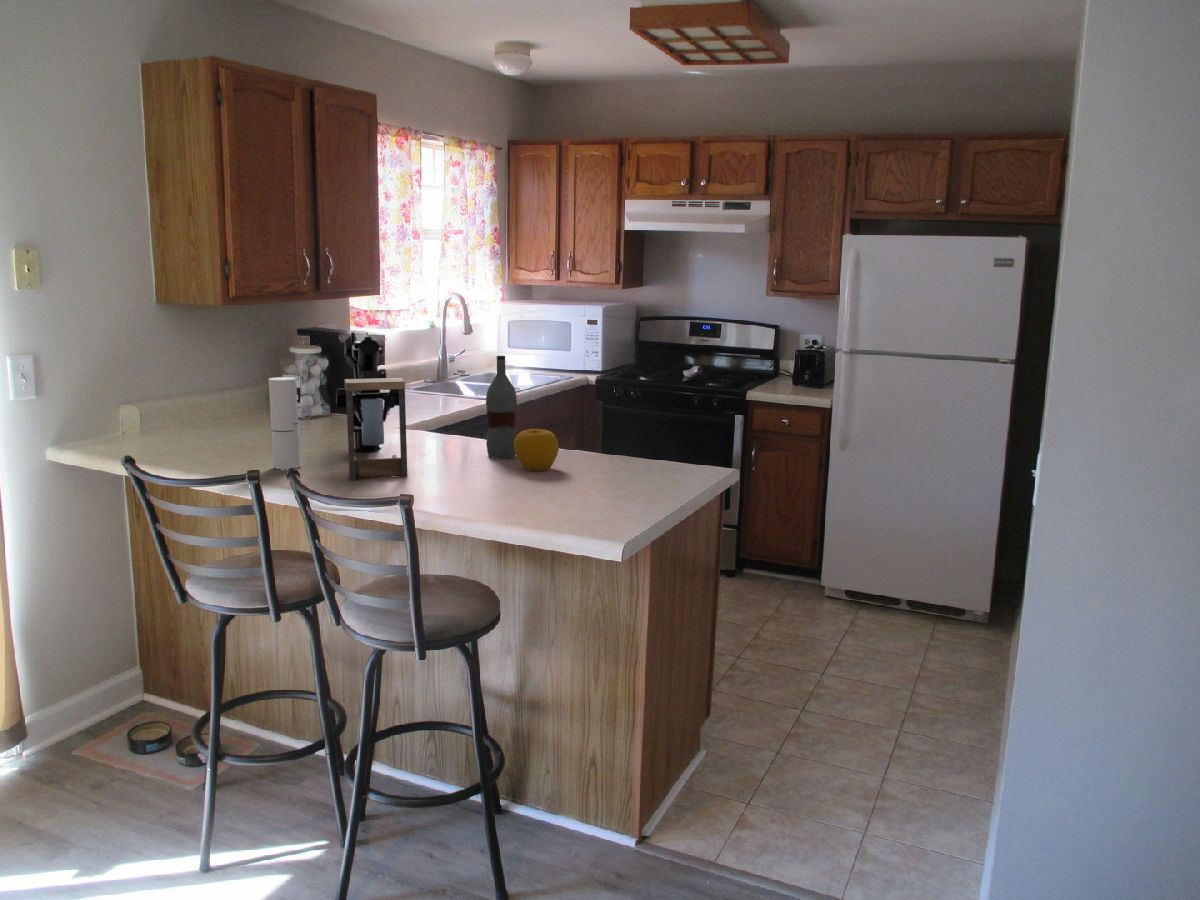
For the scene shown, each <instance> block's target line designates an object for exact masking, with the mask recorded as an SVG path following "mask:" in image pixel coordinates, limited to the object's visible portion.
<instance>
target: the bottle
mask: <svg viewBox="0 0 1200 900" xmlns="http://www.w3.org/2000/svg"><path fill="white" fill-rule="evenodd" d="M506 373H507V372H506V356H505V355H496V375H495V376H494V377H493V380H492V381H491V383H490V385H489V386H488V388H487V391H486V395H485V396H486V397H485V405H486V415H487V416H486V417H487V426H488V427H487V434H486V435H487V436H486V452H487V455H488V457H489V458H490V457H493V458H509V459H513V458H515V457H516V454H515V451H514V439H515V437H516V436H517V433H516V432H517V431H516V419H517V418H516V417H517V406H518V399H517V392H516V388H515V386H513V383H512V382H511V380H510V379H509V377H508V376H507V374H506ZM514 456H515V457H514ZM512 457H513V458H512ZM493 458H492V459H493Z"/></svg>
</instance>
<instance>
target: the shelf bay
mask: <svg viewBox="0 0 1200 900" xmlns="http://www.w3.org/2000/svg"><path fill="white" fill-rule="evenodd" d="M344 388H345V389H346V403H347V407H346V421H347V422H346V423H347V425H346V426H347V446H348V447H347V448H348V449H347V450H348V469H349V472H348V473H349V482H351V481H353V482H354V481H357V480H362V479H380V478H379V477H385V478H392V477H391V476H401V477H400V478H402V477H407V478H408V451H407V450H408V445H407V416H406V412H407V411H406V409H407V408H406V381H405V380H404V378H403V377H390V378H389V377H388V378H387V377H386V378H377V379H355V378H346V379H344ZM390 389H399V406H398V415H399V419H398V420H399V445H400V446H399V449H400V457H398V456H397V454H392V457H390V458H389V457H388V458H368V459H365V458H364V459H357V456H356V454H355V453H356V451H355V432H354V427H355V426H354V422H353V397H352V391H356V390H380V391H381V390H390Z"/></svg>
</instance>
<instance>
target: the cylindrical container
mask: <svg viewBox="0 0 1200 900" xmlns="http://www.w3.org/2000/svg"><path fill="white" fill-rule="evenodd" d="M268 392H269V409H270V426H271V445H272V447H271V448H272V462H273V463H272V464H273V469H274V468H276V469H281V470H280V471H286V470H285V469H287V468H289V467H293V468H298V467H300V468H301V456H300V454H301V453H300V435H299V417H298V416H299V414H298V411H299V410H298V392H297V378H296V377H292V376H291V377H290V376H280V377H279V376H278V377H277V376H275V377H270V378H268ZM298 469H299V468H298Z"/></svg>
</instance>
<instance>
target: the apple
mask: <svg viewBox="0 0 1200 900" xmlns="http://www.w3.org/2000/svg"><path fill="white" fill-rule="evenodd" d="M514 451H515V454H516V455H515V457H516V458H517V460H518V461H519V463H520V465H521V466H522V468H524V469H526V470H528V471H532V472H533V471H535V472H541V473H542V472H546V471H548V470H550V469H551V468H552V466H553V465H554V462H555V461H556V460H557V459H556V458H557V457H558V455H559V441H558V439H557V437H556V435H555V434H554V433H553V432H552V431H551V430H547V429H541V428H529V429H525V430H522V431H520V432H519V433H517V434H516V437H515V439H514Z"/></svg>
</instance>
